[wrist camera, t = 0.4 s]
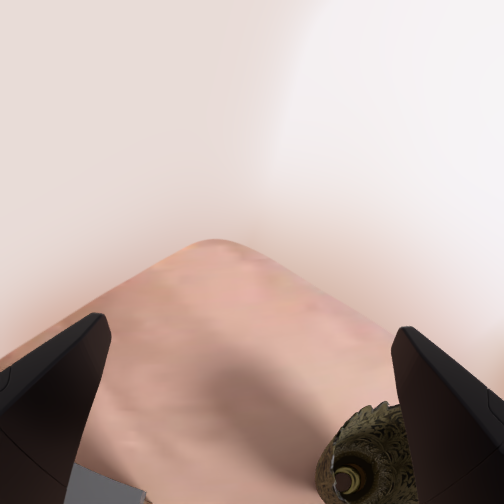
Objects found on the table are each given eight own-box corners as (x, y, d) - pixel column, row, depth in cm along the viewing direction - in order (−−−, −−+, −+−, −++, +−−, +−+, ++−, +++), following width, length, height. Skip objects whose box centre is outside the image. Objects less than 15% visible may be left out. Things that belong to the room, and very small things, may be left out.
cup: (277, 461, 19) (309, 430, 14) (358, 426, 21) (408, 382, 16) (317, 540, 14) (369, 542, 9) (397, 495, 16) (462, 470, 11)
